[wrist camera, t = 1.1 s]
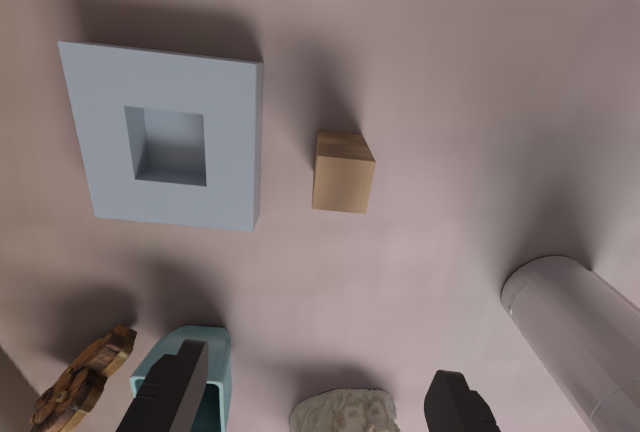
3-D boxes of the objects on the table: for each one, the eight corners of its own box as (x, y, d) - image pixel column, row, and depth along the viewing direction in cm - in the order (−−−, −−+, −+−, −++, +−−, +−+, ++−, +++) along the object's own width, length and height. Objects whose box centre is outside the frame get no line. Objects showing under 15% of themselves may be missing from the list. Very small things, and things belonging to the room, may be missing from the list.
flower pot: (166, 309, 39) (127, 377, 31) (242, 315, 40) (222, 383, 32) (174, 362, 43) (140, 433, 35) (242, 366, 44) (225, 438, 36)
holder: (263, 62, 28) (256, 64, 24) (259, 214, 34) (253, 231, 31) (87, 41, 27) (57, 41, 24) (116, 201, 33) (95, 217, 30)
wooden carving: (117, 301, 39) (57, 377, 30) (152, 321, 40) (105, 400, 31) (57, 373, 44) (-9, 455, 35) (90, 389, 46) (35, 472, 37)
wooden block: (362, 134, 30) (375, 161, 23) (355, 176, 32) (365, 213, 25) (318, 129, 30) (317, 155, 23) (313, 172, 32) (311, 208, 25)
